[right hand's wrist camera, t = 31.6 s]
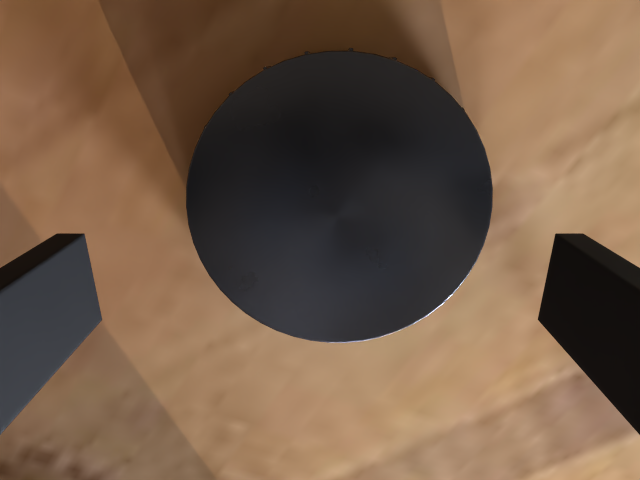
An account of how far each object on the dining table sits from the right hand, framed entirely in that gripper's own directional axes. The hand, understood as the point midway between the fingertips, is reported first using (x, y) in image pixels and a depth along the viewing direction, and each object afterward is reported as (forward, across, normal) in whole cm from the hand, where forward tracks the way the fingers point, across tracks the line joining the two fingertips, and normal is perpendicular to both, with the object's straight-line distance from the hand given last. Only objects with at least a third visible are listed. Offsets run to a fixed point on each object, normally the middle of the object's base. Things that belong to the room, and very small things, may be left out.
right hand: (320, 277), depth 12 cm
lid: (+3, +1, +1) cm, 3 cm away
